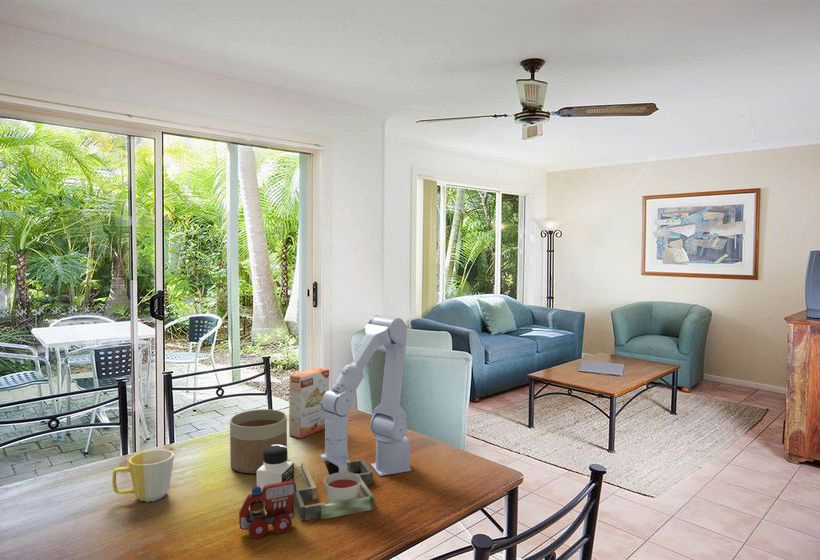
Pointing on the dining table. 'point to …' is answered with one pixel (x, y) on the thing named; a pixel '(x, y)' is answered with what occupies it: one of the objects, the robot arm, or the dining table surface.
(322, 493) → the dining table surface
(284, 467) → the medicine bottle
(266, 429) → the planter
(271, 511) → the toy fire truck
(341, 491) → the candle
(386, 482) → the dining table surface
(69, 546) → the dining table surface
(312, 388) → the cracker box
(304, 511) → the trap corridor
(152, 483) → the mug
